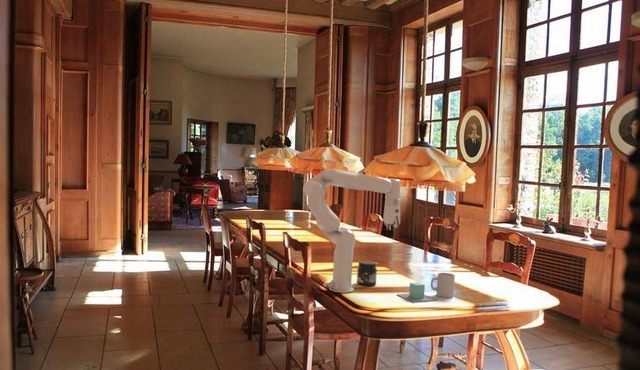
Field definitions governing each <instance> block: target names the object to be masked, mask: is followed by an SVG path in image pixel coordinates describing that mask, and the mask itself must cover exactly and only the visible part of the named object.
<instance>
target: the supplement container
mask: <svg viewBox="0 0 640 370" xmlns="http://www.w3.org/2000/svg"><path fill="white" fill-rule="evenodd" d="M356 270H357V271H356V272H357V273H356V284H357V285H358V286H362V287H368V288H369V287H374V286H376V285H377V272H378V269H377V262H375V261H371V260H361V261H358V266H357V269H356Z"/></svg>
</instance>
